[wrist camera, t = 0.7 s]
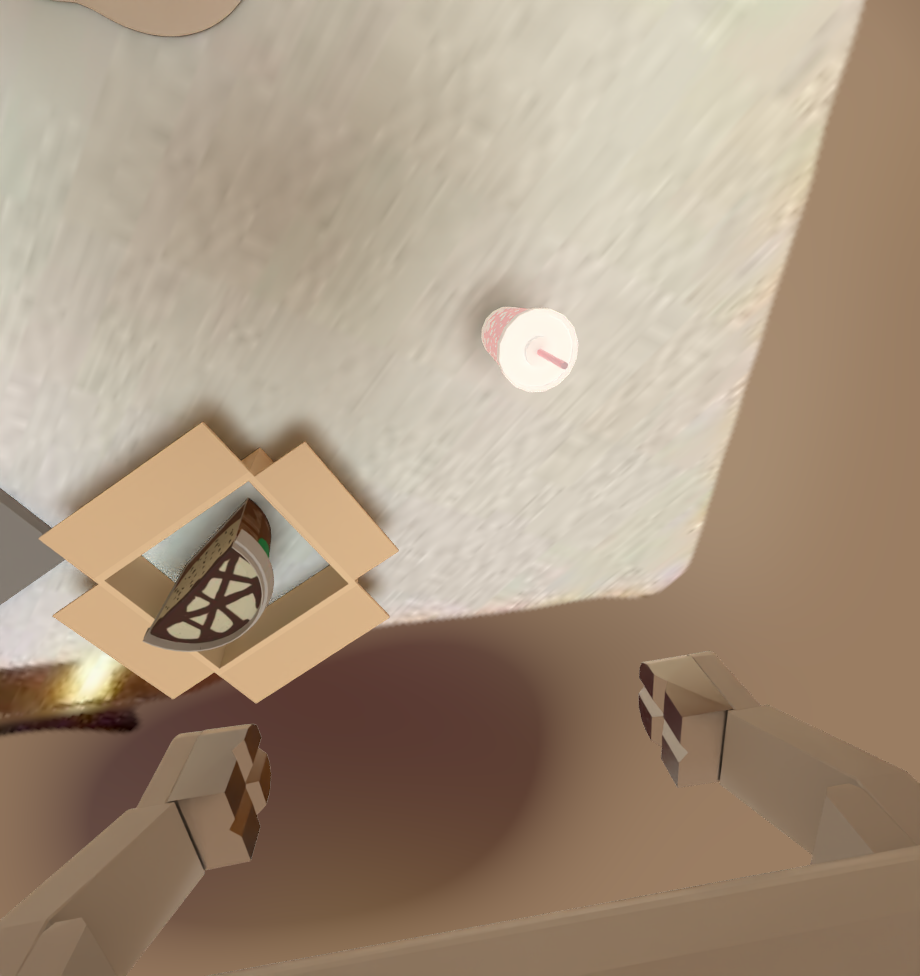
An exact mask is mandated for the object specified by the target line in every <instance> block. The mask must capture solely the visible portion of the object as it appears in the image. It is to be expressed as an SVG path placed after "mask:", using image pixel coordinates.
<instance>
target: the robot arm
mask: <svg viewBox="0 0 920 976" xmlns="http://www.w3.org/2000/svg"><path fill="white" fill-rule="evenodd" d="M54 1H64V2H76V3H78V4H81V5H84V6H86V7H88V8H90V9H92V10H94V11H96V12H98V13H99V14H101V15H103V16H105V17H107V18H109V19H110V20H112V21H114V22H116V23H118V24H121V25H123V26H125V27H128V28H130V29H133V30H136V31H139V32H143V33H147V34H152V35H159V36H182V35H189V34H193V33H197V32H200V31H203V30H205V29H207V28H210V27H212V26H213V25H215V24H217V23H218V22H220V21H221V20H222V19H224V18H225V17H226V16H227V15H229V14H230V13H231V12H232V11H233V10H234V9H235V7H236V6H237V5H238V4H239V3H240V1H241V0H54ZM639 678H640V680H641V681H642V683H643V684H644V688H643V689H642V690H641V692H640V693H639V710H640V714H641V719H642V722H643V725H644V727H645V730H646V732H647V734H648V736H649V737H650V739H651V741H653V742H655V743H656V744H658V745H659V746H661V747H662V754H661V759H662V761H663V763H664V765H665V766H666V768H667V770H668V771H669V773H670V775H671V777H672V779H673V781H674V782H675V784H676V786H677V787H678V788H679V787H685V786H692V785H700V784H707V783H714V782H720V785H722V786H723V787H724V788H726V789H727V790H728V791H729V792H731V793H732V794H734V795H735V796H736V797H737V798H738V799H740V800H741V801H743V802H744V803H745V804H746V805H748V806H749V807H751V808H752V809H753V810H754V811H756V812H757V813H758V814H759V815H761V816H762V817H763V818H765V819H766V820H767V821H769V822H770V823H771V824H773V825H774V826H775V827H776V828H778V829H779V830H781V831H782V832H783V833H784V834H786V835H787V836H788V837H790V838H791V839H792V840H793V841H795V842H796V843H797V844H799V845H800V846H801V847H803V848H804V849H805V850H807V851H808V852H809V853H811V854H812V860H811V864H810V865H808V866H802V867H797V868H792V869H787V870H781V871H776V872H770V873H764V874H759V875H753V876H748V877H742V878H737V879H732V880H726V881H721V882H715V883H710V884H705V885H699V886H693V887H688V888H683V889H678V890H672V891H667V892H661V893H656V894H651V895H645V896H639V897H634V898H629V899H624V900H618V901H612V902H607V903H602V904H597V905H591V906H585V907H580V908H575V909H570V910H564V911H559V912H553V913H548V914H542V915H538V916H532V917H526V918H521V919H515V920H510V921H505V922H499V923H493V924H488V925H482V926H477V927H471V928H466V929H461V930H455V931H449V932H444V933H438V934H433V935H427V936H422V937H417V938H412V939H405V940H400V941H394V942H389V943H384V944H378V945H372V946H367V947H362V948H356V949H351V950H346V951H340V952H335V953H330V954H324V955H318V956H313V957H307V958H302V959H297V960H291V961H285V962H280V963H275V964H269V965H263V966H258V967H253V968H247V969H242V970H237V971H231V972H225V973H220V974H214V975H209V976H920V783H919V782H918V781H917V780H915V779H914V778H913V777H912V776H911V775H910V774H909V773H908V772H907V771H905V770H903V769H901V768H898V767H897V766H894V765H892V764H890V763H888V762H886V761H884V760H882V759H880V758H878V757H876V756H874V755H872V754H870V753H867V752H865V751H863V750H861V749H859V748H857V747H855V746H853V745H851V744H849V743H847V742H845V741H842V740H840V739H838V738H836V737H834V736H832V735H830V734H828V733H826V732H824V731H822V730H820V729H818V728H816V727H813V726H811V725H809V724H807V723H805V722H803V721H801V720H799V719H797V718H795V717H793V716H791V715H788V714H786V713H784V712H782V711H780V710H778V709H776V708H774V707H772V706H770V705H762V706H761V705H760V704H759V703H758V702H757V701H756V699H755V698H754V697H753V696H752V695H751V694H750V693H749V692H748V690H747V689H746V688H745V687H744V686H743V685H742V684H741V682H740V681H739V680H738V679H737V678H736V677H735V676H734V674H733V673H732V672H731V671H730V670H729V669H728V668H727V667H726V665H725V664H724V663H723V662H722V661H721V660H720V659H719V657H718V656H717V655H716V654H715V653H713V652H711V651H706V652H700V653H694V654H688V655H686V656H685V655H684V656H678V657H671V658H666V659H659V660H654V661H647V662H642V663H641V666H640V670H639ZM260 740H261V734H260V732H259V729H258V727H257V725H255V724H247V725H240V726H232V727H224V728H217V729H209V730H204V731H199V732H191V733H183V734H179V735H178V736H176V737H175V738H174V739H173V740H172V742H171V744H170V746H169V748H168V749H167V751H166V753H165V755H164V757H163V759H162V761H161V763H160V765H159V766H158V768H157V770H156V772H155V774H154V776H153V778H152V780H151V782H150V783H149V785H148V787H147V789H146V791H145V793H144V795H143V797H142V799H141V800H140V802H139V804H138V806H137V808H134V809H129V810H127V811H126V812H125V813H124V814H123V815H121V816H120V817H119V818H118V819H117V820H116V821H115V822H113V823H112V824H111V825H110V826H109V827H108V828H106V829H105V830H104V831H103V832H102V833H101V834H99V835H98V836H97V837H96V838H95V839H94V840H93V841H91V842H90V843H89V844H88V845H87V846H86V847H84V848H83V849H82V850H81V851H80V852H79V853H78V854H76V855H75V856H74V857H73V858H72V859H70V860H69V861H68V862H67V863H66V864H65V865H64V866H62V867H61V868H60V869H59V870H58V871H57V872H55V873H54V874H53V875H52V876H51V877H50V878H49V879H47V880H46V881H45V882H44V883H43V884H41V885H40V886H39V887H38V888H37V889H36V890H35V891H33V892H32V893H31V894H30V895H29V896H28V897H26V898H25V899H24V900H23V901H22V902H21V903H19V904H18V905H17V906H16V907H15V908H14V909H13V910H11V911H10V912H9V913H8V914H7V915H6V916H4V917H3V918H2V919H1V920H0V976H126V975H127V974H128V972H129V971H130V970H131V968H132V967H133V966H134V965H135V963H136V962H137V961H138V959H139V958H140V957H141V956H142V954H143V953H144V952H145V950H146V949H147V947H148V946H149V945H150V944H151V943H152V941H153V940H154V939H155V937H156V936H157V935H158V934H159V932H160V931H161V930H162V928H163V927H164V926H165V924H166V923H167V922H168V921H169V919H170V918H171V917H172V915H173V914H174V913H175V911H176V910H177V909H178V908H179V906H180V905H181V904H182V902H183V901H184V900H185V898H186V897H187V896H188V895H189V893H190V892H191V891H192V889H193V888H194V887H195V885H196V884H197V883H198V882H199V880H200V879H201V878H202V876H203V875H204V874H205V871H204V870H209V869H214V868H219V867H224V866H229V865H234V864H238V863H243V862H248V861H251V859H252V855H253V851H254V848H255V844H256V841H257V837H258V833H259V830H260V824H259V820H258V818H257V814H258V813H259V812H260V811H261V810H262V809H263V808H264V806H265V805H266V804H267V800H268V796H269V793H270V783H271V769H270V762H269V759H268V756H267V753H265V752H264V751H262V750H261V749H259V748H258V747H259V744H260Z"/></svg>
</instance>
